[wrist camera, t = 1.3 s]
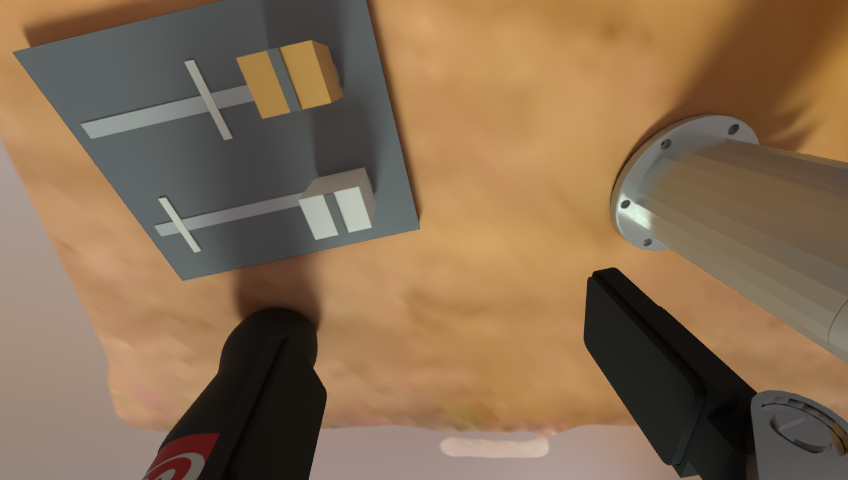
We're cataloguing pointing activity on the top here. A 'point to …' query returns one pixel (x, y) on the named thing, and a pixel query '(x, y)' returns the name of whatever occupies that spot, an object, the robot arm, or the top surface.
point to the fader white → (339, 204)
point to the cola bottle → (225, 392)
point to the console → (227, 128)
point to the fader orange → (291, 78)
